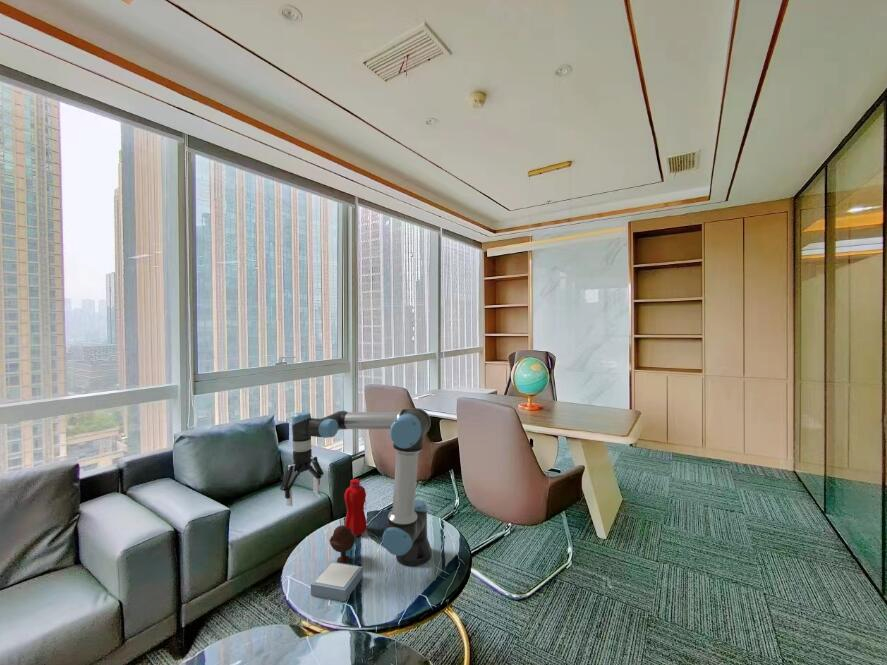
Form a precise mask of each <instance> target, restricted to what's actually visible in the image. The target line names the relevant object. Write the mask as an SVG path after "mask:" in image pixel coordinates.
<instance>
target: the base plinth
mask: <svg viewBox="0 0 887 665" xmlns="http://www.w3.org/2000/svg"><path fill="white" fill-rule="evenodd" d="M363 568H364V567H363V566H359V565H356V564H355V565H354V564H349V563H346V564H343V563H337V561H336V562H335V561H330V562H329V563H328V564H327V566H326V567H324V569H323V570H322V571H321V572H320V573H318V576H317V577H316V578H315V579H314V580H313V581H312V582H311V583H310V595H311V596H314V597H320V598H324V599H325V598H326V599H331V600H337V601H342V602H346V601H347V599H349V597H350V595H351V594H352V593H353V591H354V590H355V588H356V587H357V586H358V584H359V583H360V582H361V580H362V579H363V577H364V571H363V570H364V569H363Z"/></svg>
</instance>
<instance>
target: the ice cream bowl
mask: <svg viewBox="0 0 887 665" xmlns="http://www.w3.org/2000/svg"><path fill="white" fill-rule="evenodd" d="M328 541H329V544H330V546H331V548H332V549H333V550H334V551H335V552H336V553H337V552H338V553H340V556H338V557H337V559H336V563H343V564H348V563H349V562H350V561H351V557H350V556H349V555H346V552H347V551H350V550H351V549H352V548H353V546H354V545H355V542H356V541H357V536H356V535H355V533H354V532H351V530H350V528H348V527H347V526H345V524H344V525H338V526H337V527H336V528H335V529H333V533H332V535H331V537H330V538H329V539H328Z"/></svg>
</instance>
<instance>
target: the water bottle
mask: <svg viewBox="0 0 887 665" xmlns="http://www.w3.org/2000/svg"><path fill="white" fill-rule="evenodd" d="M349 482H350V485H349V487H347V488H346V489H345V492H344V494H343V495H344V503H345V507H346V516H345V520H344V526H347V527H348V528H350V530H351V532H354V533H355V535H356V537H357V536H360V535H361V534H363V533H364V532H365V531H366V530H367V526H368V525H367V518H366V515H365V510H366V509H367V507H365V504H367V500H366V499H367V498H366V497H367V492H366V488H365V487H364V486H362V485H361V482H360V479H358V478H353V479H351V480H350V481H349Z"/></svg>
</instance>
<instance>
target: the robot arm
mask: <svg viewBox="0 0 887 665" xmlns="http://www.w3.org/2000/svg"><path fill="white" fill-rule="evenodd" d="M431 420H432V419H431V417H430V415H429V413H428V412H427V411H426V410H424V409H421V408H418V407H417V408H403V409H401V410H399V411H352V412H351V411H350V412H349V411H347V410H339V411H336V412H334V413H332V414H329V415H327V416H325V417H321V418H314V417H312V414H311V413H310V412H305V411H302V412H296V413H294V414H292V420H291V421H292V422H291V429H292V430H291V431H292V432H291V433H292V450H293V451H292V460H293V464H287V465H286V470H285V473H284V476H283V480H282V482H281V485H280V488H279V490H280V491H283V492H284V498H285V499H286V506H288V507H293V490H292V487H293V485H294V484H295V482H296V480H297V478H298V476H300V474H301V473H304V472H305V471H308V472H310V473H311V475H312V476H313V478H312V482H313V483H312V484H313V486H312V488H313V489H312V490H313V493H314V494H317V495H318V494H320V483H321V478H322V477H323V476H324V472H323V469H322V468H321V465H320V463H319V460H318V456H314V455H312V453H313V452H312V450H313V449H312V445H313V444H312V438H313V437H314V438H315V437H316V438H325V439H326V438H333V437H335V436H336V434H337V433H338V431H340V430H389V436H390V439H391V441H392V443H393V445H392V446H393V447H392V448H393V450H395V452H396V456H395V471H394V486H393V495H392V496H393V499H392V510H391V511H389V513H388V514H387V525H386V528H385V530H384V531H383V534H382V538H381V539H382V544H383V547H384V548H385V549H386V550H387V552H389V553H390V554H391V555H393V556H395V558H396V561H397V562H398V563H399V564H401V565H403V566H405V567H419V566H422V565H424V564H426V563H428V562H429V561H430V559H431V558H432V547H431V545H430V541H429V539H428V538H429V537H428V508H427V504H426V502H425V501H423V500H419V499H416V491H417V490H416V489H417V480H418V463H419V453H420V452H422V451H423V448H424V439H425V438H424V436H426V435H427V434H428V432H429V431H430V428H431V425H432V423H431ZM311 464H312V465H311ZM313 467H314V468H313Z"/></svg>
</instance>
